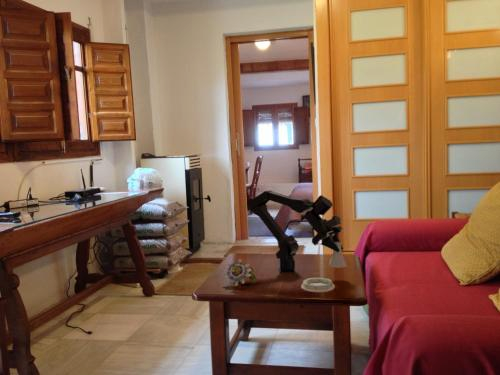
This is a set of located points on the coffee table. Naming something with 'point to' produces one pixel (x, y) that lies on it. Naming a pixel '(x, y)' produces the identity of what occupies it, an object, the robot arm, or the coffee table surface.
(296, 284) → the coffee table surface
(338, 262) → the flask
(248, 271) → the passion flower
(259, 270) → the coffee table surface
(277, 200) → the robot arm
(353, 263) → the coffee table surface
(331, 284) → the shaker seat
